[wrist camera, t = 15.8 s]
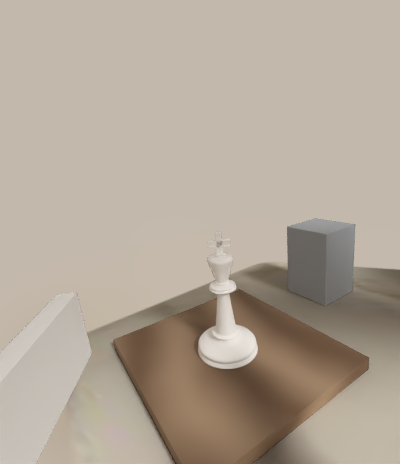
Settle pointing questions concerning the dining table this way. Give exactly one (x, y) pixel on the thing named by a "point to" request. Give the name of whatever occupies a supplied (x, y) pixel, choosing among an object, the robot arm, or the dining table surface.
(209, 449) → the walnut pad
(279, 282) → the dining table surface
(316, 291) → the slate block
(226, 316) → the chess piece
